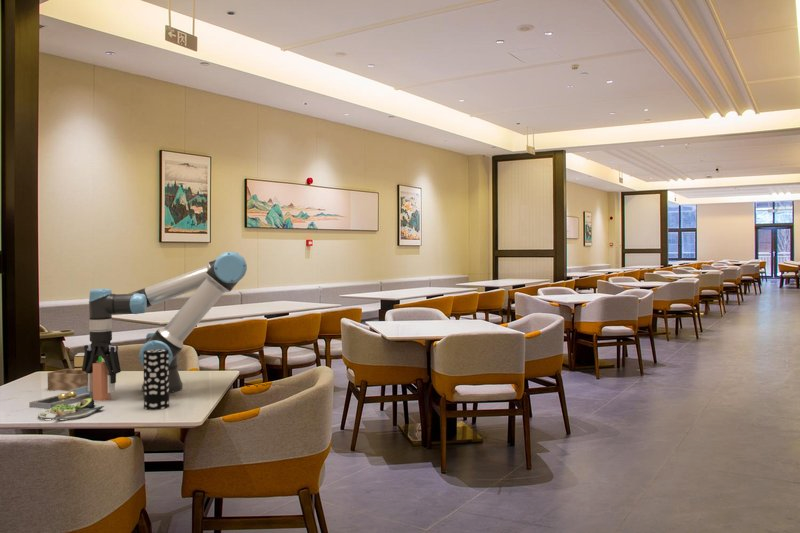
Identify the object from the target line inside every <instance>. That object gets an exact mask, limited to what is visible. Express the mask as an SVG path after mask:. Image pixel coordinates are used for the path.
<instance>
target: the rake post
mask: <svg viewBox="0 0 800 533" xmlns="http://www.w3.org/2000/svg"><path fill="white" fill-rule="evenodd" d="M108 374H109V371H108V369H107V366H106V364H105V361H102V362H97V363H93V398H92V399H93V400H94V401H99V402H102V401H106V400H110V399H111V398H110V397H111V393H108Z"/></svg>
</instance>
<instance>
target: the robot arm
mask: <svg viewBox="0 0 800 533" xmlns="http://www.w3.org/2000/svg"><path fill="white" fill-rule="evenodd" d="M247 269H248V267H247V262H246V260H245V258H244V257H243V256H242V255H241V254H239V253H238V252H235V251H225V252H223V253H221V254H219V255H218V257H217V258H216V259H214V260H212V261H209V262H208V261H207V265H205V266H202V267H199V268H197V269H193V270H191V271H188V272H185V273H183V274H180V275H177V276H174V277H172V278H169V279H166V280H164V281H159V282H158V283H155V284H152V285H150V286H146V287H144V288H141V289H139V290H138V289H137V290H136V291H133V292H130V293H121V294H120V293H118V294H117V293H113V292H112V289H111V288H93V289H91V290H89V298H88V308H89V310H88V314H89V319H88V320H89V322H88V323H89V326H88V329H89V331H90V332H89V341H90V342H91V343H90V344H85V345H84V346H83V350H84V352H83V353H84V359H83V366H82V371H85V372H86V373H87V382H88V391H93V373H92V372H93V363H97V360H98V357H99V356H102V360H103V362H105V364H106V366H107V369H108V371H109V374H108V393H110V394H111V393H114V392H116V383H117V374H119V373H121V372H122V369H121V365H120V358H119V353H118V351H119V347H118V345H112V344H111V341H112V339H113V331H112V329H113V326H112V325H113V324H112V323H113V320H112V318H113V317H112V315H130V314H131V315H139V314H145V313H146V312H147V308H149V307H151V306H155V305H157V304H160V303H162V302H165V301H168V300H172V299H173V298H177V297H179V296H182V295H185V294H187V293H190V292H193V291H194V292H193V293H192V295H191V296H190V297H189V298H188V300H187V301H186V302H185V303H184V304H183V305H182V306H181V308H180V309H179V310H178V311H177V313H176V314H175V315H174V316H173V317H172V318H171V319H170V321H169V322H168V323H167V324H166V326H165V327H162V328H157V329H156V331H155V332H149V333H147V334H146V336H145V343H143V345H142V346H141V348H140V350H139V353H138V359H139V362H140V364H141V366H142V367H143V368H144V357H143V351H146V350H152V349H167V350H169V394H170V393H176V392H178V391H182V390H183V381H182V379H181V375H180V374H179V373H180V372H179V368H178V360H179V359H178V354H179V353H180V352H181V351H182V350H183V349H184V341H185V340H186V339H187V337H188V336H189V335H190V334H191V333H192V332H193V331H194V329H195V328H196V327H197V326H198V324H200V322H201V321H202V319H203V318H204V317H205V316H206V315H207V313H209V311H210V310H211V309H212V308H213V306H215V305H216V303H217V302H218V300H219V299H220V298H221V297H222V296H223V295H224V294H225V293H230V292H232V291H233V289H234V287H235V286H236V285H237V284H238V283H239V282H240V281H241V280H242V279H243V278H244V277H245V275H246V273H247ZM141 392H143V393H144V381H143V383H142V385H141Z"/></svg>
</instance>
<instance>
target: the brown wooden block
mask: <svg viewBox="0 0 800 533" xmlns="http://www.w3.org/2000/svg"><path fill="white" fill-rule="evenodd" d="M92 373H93V372H92ZM85 386H88V382H87V373H86V372H85V371H82V370H76V369H74V368H65V369H64V368H63V369H58V370H54V371H49V372H47V391H65V392H70V390H72V389H76V388H81V387H85Z"/></svg>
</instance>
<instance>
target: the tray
mask: <svg viewBox="0 0 800 533" xmlns="http://www.w3.org/2000/svg"><path fill="white" fill-rule="evenodd" d="M70 391H75V392H76V393H77V396H81V395H85V394H90V398H92V399H93V391H88V386H85V387H81V388H76V389H72V390H70ZM70 391H69V392H70Z"/></svg>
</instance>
